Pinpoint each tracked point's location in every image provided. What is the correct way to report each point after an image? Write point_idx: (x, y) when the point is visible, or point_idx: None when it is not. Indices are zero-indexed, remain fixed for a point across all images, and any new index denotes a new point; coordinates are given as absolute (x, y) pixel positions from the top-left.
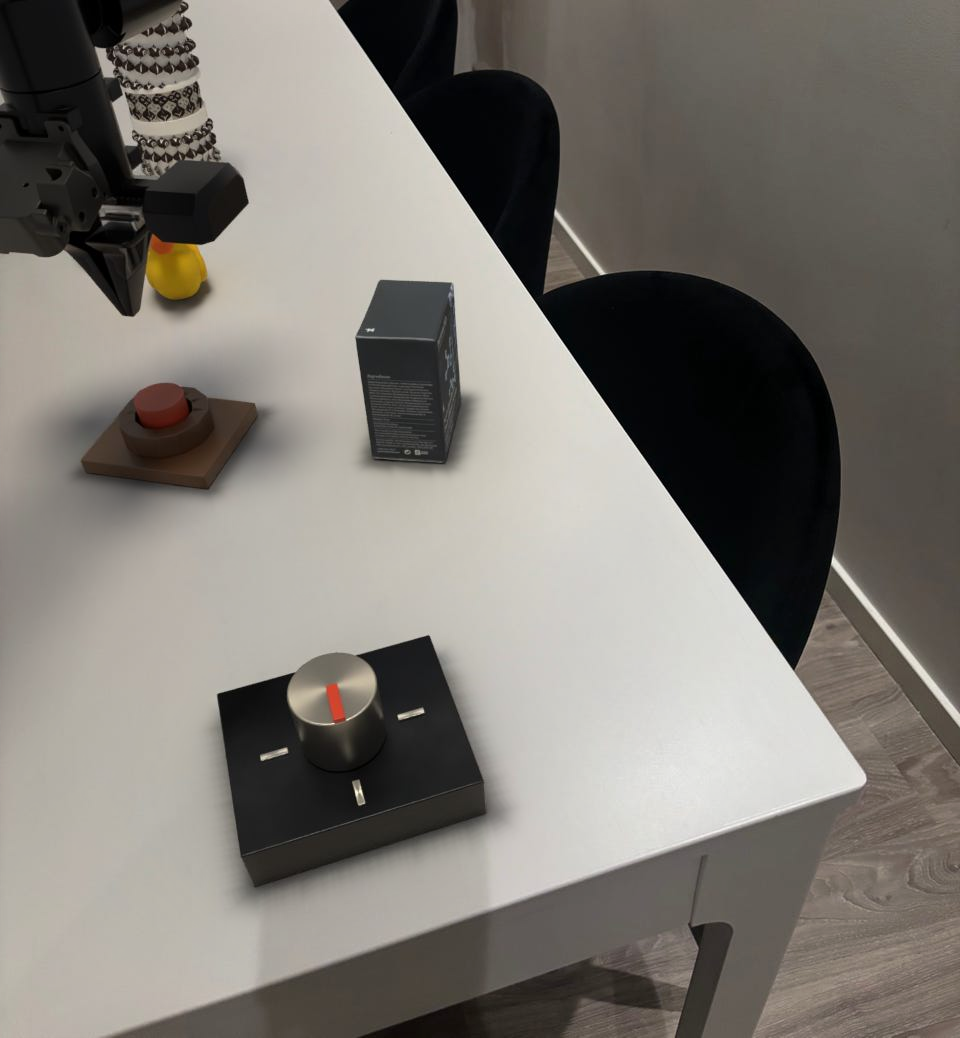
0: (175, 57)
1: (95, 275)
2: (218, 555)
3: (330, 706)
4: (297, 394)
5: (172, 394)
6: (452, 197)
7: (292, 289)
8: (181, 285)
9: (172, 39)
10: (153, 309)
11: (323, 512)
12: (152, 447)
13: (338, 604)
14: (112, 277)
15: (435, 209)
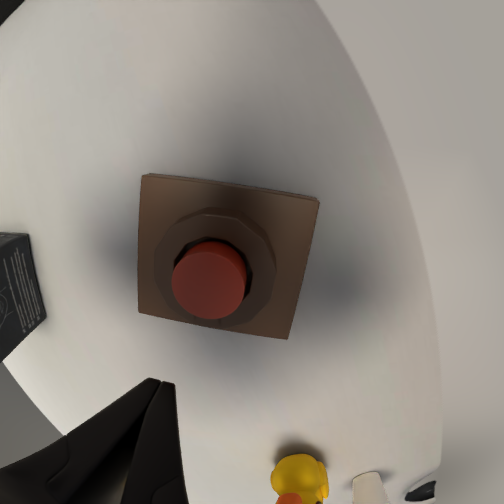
0: None
1: (153, 474)
2: (110, 78)
3: None
4: (122, 333)
5: (188, 292)
6: None
7: (200, 457)
8: (284, 465)
9: None
10: (320, 444)
11: (41, 157)
12: (209, 210)
13: (22, 61)
14: (98, 454)
15: None
